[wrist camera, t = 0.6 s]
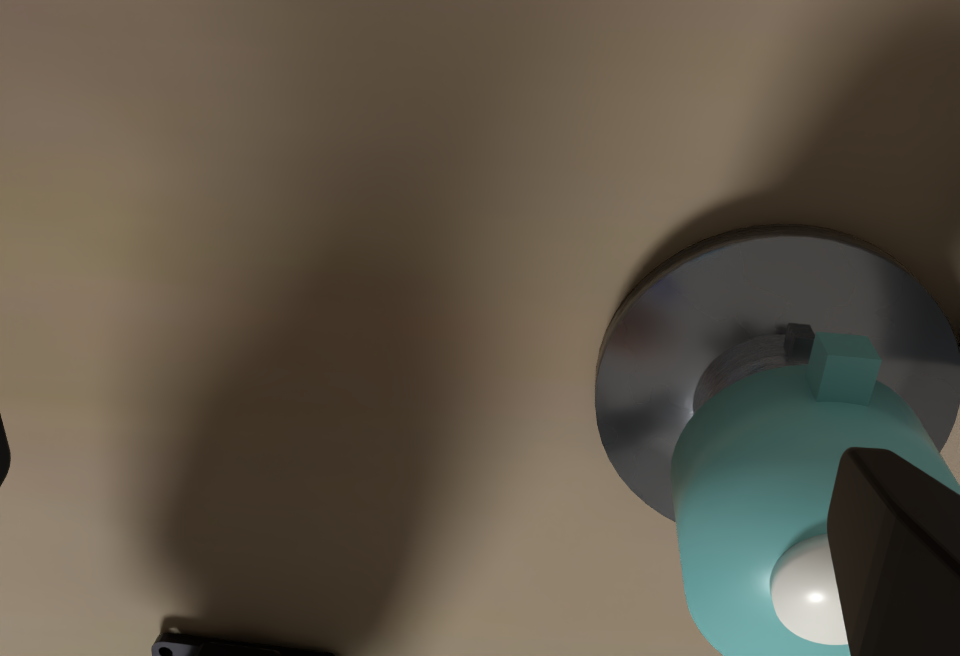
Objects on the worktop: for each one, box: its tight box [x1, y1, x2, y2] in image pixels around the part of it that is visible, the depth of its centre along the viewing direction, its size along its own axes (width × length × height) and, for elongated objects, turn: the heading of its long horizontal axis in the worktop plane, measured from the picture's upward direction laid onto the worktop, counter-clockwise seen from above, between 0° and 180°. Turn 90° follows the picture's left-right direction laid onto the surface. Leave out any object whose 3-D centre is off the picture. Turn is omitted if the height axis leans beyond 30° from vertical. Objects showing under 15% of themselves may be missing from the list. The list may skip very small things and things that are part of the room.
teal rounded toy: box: [670, 332, 960, 656], centre depth 18 cm, size 7×6×4 cm
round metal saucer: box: [595, 224, 960, 522], centre depth 22 cm, size 9×9×4 cm
